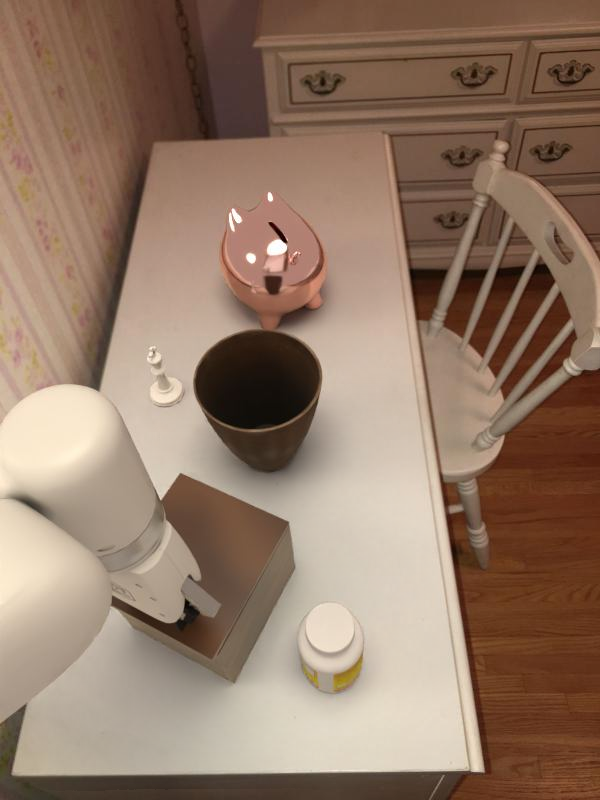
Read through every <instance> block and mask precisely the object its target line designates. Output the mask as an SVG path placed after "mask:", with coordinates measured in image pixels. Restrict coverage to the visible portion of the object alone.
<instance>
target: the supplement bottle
mask: <svg viewBox="0 0 600 800" xmlns="http://www.w3.org/2000/svg"><path fill="white" fill-rule="evenodd" d="M296 644H297V649H298V654H299V659H300V664H301V668H302V672H303V674H304V676H305V679H307V681H308V683H310V684H311V685H312V686H313V687H314V688H316V689H317V690H319V691H320V692H324V693H327V694H336V693H342V692H344V691H346V690H348V689H350V688H351V687H353V685H354V684H355V683H356V682H357V680H358V678H359V677H360V674H361V671H362V667H363V661H364V651H365V650H364V648H365V634H364V629H363V626H362V624H361V622H360V620H359V619H358V617H357V616H356V615H355V614H354V612H352V611H351V610H350V609H348V608H346V607H345V606H344V605H341V604H340V603H336V602H331V601H328V602H322V603H319V604H318V605H317V606H315V607H313V608H312V609H310V610H309V611H308V612H307V613H306V614H305V615H304V617H303V618H302V619H301V621H300V623H299V625H298V629H297V634H296Z"/></svg>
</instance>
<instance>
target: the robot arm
mask: <svg viewBox="0 0 600 800" xmlns="http://www.w3.org/2000/svg"><path fill="white" fill-rule="evenodd" d="M161 500H162V499H161V498H160V496H159V494H158V492H157V489H156V487H155V485H154V483H153V481H152V479H151V477H150V474H149V472H148V470H147V468H146V466H145V463H144V462H143V459H142V457H141V455H140V453H139V450H138V449H137V446H136V444H135V442H134V439H133V437H132V435H131V433H130V431H129V428H128V427H127V424H126V423H125V421H124V418H123V415H122V414H121V412H120V411H119V409H118V407H117V406H116V405H115V403H113V401H112V400H111V399H110V398H109V397H108V396H107V395H105V394H104V393H101V391H98V390H96V389H95V388H93V387H90V386H86V385H81V384H76V383H75V384H74V383H72V384H71V383H63V384H55V385H51V386H48V387H47V386H46V387H44V388H40V389H38V390H35V391H33V392H32V393H30V394H29V395H27V396H25V397H24V398H23V399H21V400H20V401H19V402H17V403H16V405H14V406H13V407H12V408H11V409H10V410H9V412H8V413H7V414H6V415H5V417H4V418H3V419H2V421H1V423H0V724H1V723H3V722H4V721H6V720H7V719H8V718H9V717H11V716H12V715H13V714H14V713H16V712H18V711H19V710H20V709H21V708H22V707H24V706H25V705H27V704H28V703H29V702H30V701H31V700H33V699H34V698H35V697H37V696H38V695H39V694H40V693H41V692H43V691H44V690H45V689H46V688H47V687H49V686H50V685H51V684H52V683H54V682H55V681H56V680H57V679H59V678H60V677H61V676H62V674H64V673H65V672H66V671H68V669H69V668H70V667H71V666H72V665H74V664H75V663H76V662H77V661H78V660H79V659H80V658H81V656H83V654H84V653H85V652H86V651H87V650H88V648H89V647H91V646H92V644H93V642H94V641H95V639H96V638H97V636H98V635H99V634H100V632H101V630H102V629H103V627H104V625H105V623H106V621H107V618H108V616H109V613H110V610H111V602H112V595H113V596H115V597H117V598H118V599H120V600H122V601H124V602H126V603H128V604H129V605H131V606H133V607H135V608H137V609H139V610H141V611H143V612H144V613H146V614H148V615H150V616H152V617H154V618H156V619H158V620H160V621H163V622H165V623H173V624H174V626H175V627H176V629H178V630H179V631H181V632H182V631H183V630H184V628H185V627H186V625H187V623H190V624H192V623H193V622H194V620H195V619H196V617H198V616H199V614H200V613H201V614H202V615H203V616H207V617H211V618H214V617H215V615H216V613H217V611H218V610H219V608H220V606H221V604H220V603H219V602H218V601H217V600H215V599H214V598H213V597H212V596H211V595H209V594H208V593H207V592H206V591H205V590H203V589H202V588H201V587H200V586H199V585H197V584H196V583H197V582H201V573H200V569H199V567H198V564H197V562H196V560H195V558H194V557H193V555H192V553H191V551H190V550H189V548H188V547H187V545H186V544H185V542H184V541H183V539H182V538H181V537H180V535H179V534H178V533H177V531H176V530H175V529H174V528H173V526H172V525H171V524H170V523H169V522H168V521H167V520H166V515H165V510H164V507H163V505H162V502H161Z"/></svg>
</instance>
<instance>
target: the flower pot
mask: <svg viewBox="0 0 600 800" xmlns="http://www.w3.org/2000/svg"><path fill="white" fill-rule="evenodd" d="M322 385H323V369H322V365H321V362H320V360H319V358H318V355H317V354H316V353H315V351H314V350H313V348H311V346H310V345H308V344H307V343H306V342H305V341H303V340H302V339H300V338H299V337H297V336H295V335H293V334H291V333H288V332H285V331H283V330H279V329H275V330H273V329H263V328H251V329H245V330H241V331H238V332H234V333H231V334H230V335H227V336H225V337H223V338H222V339H220V340H219V341H217V342H215V343H214V344H213V345H212V346H210V347H209V348H208V349H207V350H206V351H205V353H204V354H203V355H202V357H201V358H200V359H199V361H198V362H197V365H196V367H195V370H194V373H193V379H192V387H193V388H192V389H193V393H194V397H195V400H196V402H197V404H198V405H199V407H200V409H201V411H202V413H203V414H204V415H203V416H205V418H206V420H207V422H208V423H209V425H210V427H211V428H212V430H213V431H214V433H215V434H216V435H217V436H218V438H219V440H220V441H221V442H222V444H224V445H225V447H226V448H227V449H228V450H229V451H230V452H231V453H232V454H233V455H234V456H235V457H236V458H237V459H238V460H240V461H241V462H242V463H244V464H245V465H246V466H248V467H249V468H251V469H252V470H255V471H257V472H262V473H270V472H275V471H279V470H280V469H283V468H284V467H286V466H287V465H288V464H289V463H290V462H291V461H292V460H293V458H294V457H295V455H296V454H297V452H298V451H299V450H300V448H301V446H302V444H303V443H304V442H305V439H306V437H307V435H308V432H309V430H310V428H311V426H312V423H313V420H314V417H315V414H316V411H317V408H318V405H319V400H320V397H321V396H320V395H321V391H322Z"/></svg>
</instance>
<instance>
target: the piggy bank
mask: <svg viewBox="0 0 600 800" xmlns="http://www.w3.org/2000/svg"><path fill="white" fill-rule="evenodd" d="M218 248H219V249H218V262H219V267H220V270H221V274H222V276H223V278H224V280H225V282H226V284H227V285H228V287H229V289H230V290H231V291H232V293H233V294H234V295H235V297H236V298H237V299H238V300H239V301H241V302H242V303H243V304H245V305H246V306H247V307H248V308H250V309H251V310H252V311H254V312H255V314H257V315H258V320H259V324H260V327H261V329H273V330H278V328H279V327H280V324H281V321H282V317H283V316H284V315H287V314H289V313H292V312H295V311H296V310H299V309H300V308H303V307H306V309H309V310H317V309H318V308H320V307H321V306H322V304H323V301H322V296H321V294H320V290H321V288H322V286H323V284H324V281H325V278H326V276H327V270H328V259H327V254H326V253H327V252H326V249H325V246H324V244H323V241H322V239H321V238H320V236H319V234H318V233H317V231H316V230H315V229H314V228H313V226H312V225H311V224H310V223H309V222H308V221H307V220H306V219H305V218H304V217H303V216H302V215H300V213H298V212H297V211H296V210H295V209H293V208H292V207H291V206H290V205H289V204H288V203H287V202H286V201H285V200H284V199H283V198H282V197H281V196H280V195H279V194H278V193H277V192H275V191H274V190H271V189H268V190H266V191H265V192H264V194H263V195H262V197H261V198H260V201H259V203H258V204H257V205H256V206H255V207H253V208H251V209H248V210H246V209H245V208H242V207H240V206H238V205H236V204H235V205H231V206H230V207H229V209H228V211H227V214H226V219H225V230H224V232H223V235H222V237H221V240H220V244H219V247H218Z"/></svg>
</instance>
